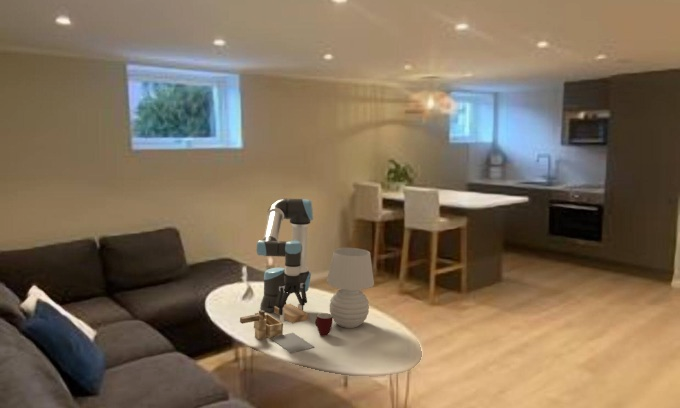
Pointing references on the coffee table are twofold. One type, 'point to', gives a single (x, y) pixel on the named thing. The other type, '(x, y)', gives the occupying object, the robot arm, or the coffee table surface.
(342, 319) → the table lamp
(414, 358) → the coffee table surface
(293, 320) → the lid
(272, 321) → the open wooden box
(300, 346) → the mat
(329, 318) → the mug
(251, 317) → the key
